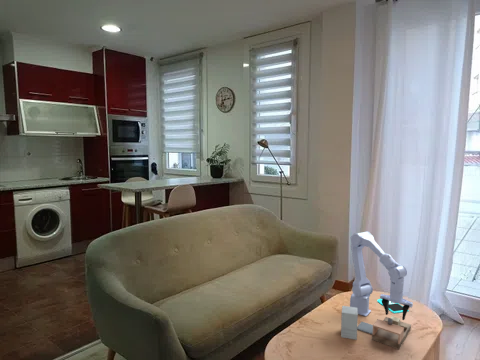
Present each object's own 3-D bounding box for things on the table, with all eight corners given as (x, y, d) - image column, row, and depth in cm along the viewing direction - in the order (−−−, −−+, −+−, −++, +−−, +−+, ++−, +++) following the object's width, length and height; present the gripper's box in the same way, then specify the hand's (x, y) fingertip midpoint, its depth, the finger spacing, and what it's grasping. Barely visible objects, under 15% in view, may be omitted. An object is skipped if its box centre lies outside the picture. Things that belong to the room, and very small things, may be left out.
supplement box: (356, 332, 165) (358, 307, 164) (356, 340, 159) (358, 314, 157) (341, 329, 168) (342, 305, 166) (340, 337, 161) (341, 312, 159)
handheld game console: (389, 299, 201) (390, 297, 201) (409, 312, 186) (409, 310, 186) (375, 301, 199) (375, 298, 199) (393, 314, 183) (394, 312, 183)
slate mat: (356, 329, 168) (356, 327, 168) (361, 322, 174) (361, 321, 174) (372, 334, 163) (372, 333, 163) (377, 327, 169) (377, 326, 169)
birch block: (388, 330, 167) (389, 319, 166) (391, 327, 170) (391, 315, 169) (397, 333, 164) (398, 321, 164) (399, 330, 167) (400, 318, 167)
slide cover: (372, 334, 159) (373, 320, 158) (377, 328, 165) (377, 314, 164) (399, 344, 152) (400, 329, 151) (403, 337, 157) (404, 322, 156)
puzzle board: (371, 339, 159) (372, 335, 159) (385, 320, 176) (385, 316, 176) (399, 349, 152) (399, 345, 152) (410, 328, 169) (411, 324, 169)
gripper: (378, 288, 166) (377, 315, 168) (410, 297, 157) (409, 324, 159) (383, 284, 172) (381, 309, 173) (414, 292, 163) (412, 318, 164)
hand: (395, 316), depth 166 cm, fingers open, 7 cm apart
